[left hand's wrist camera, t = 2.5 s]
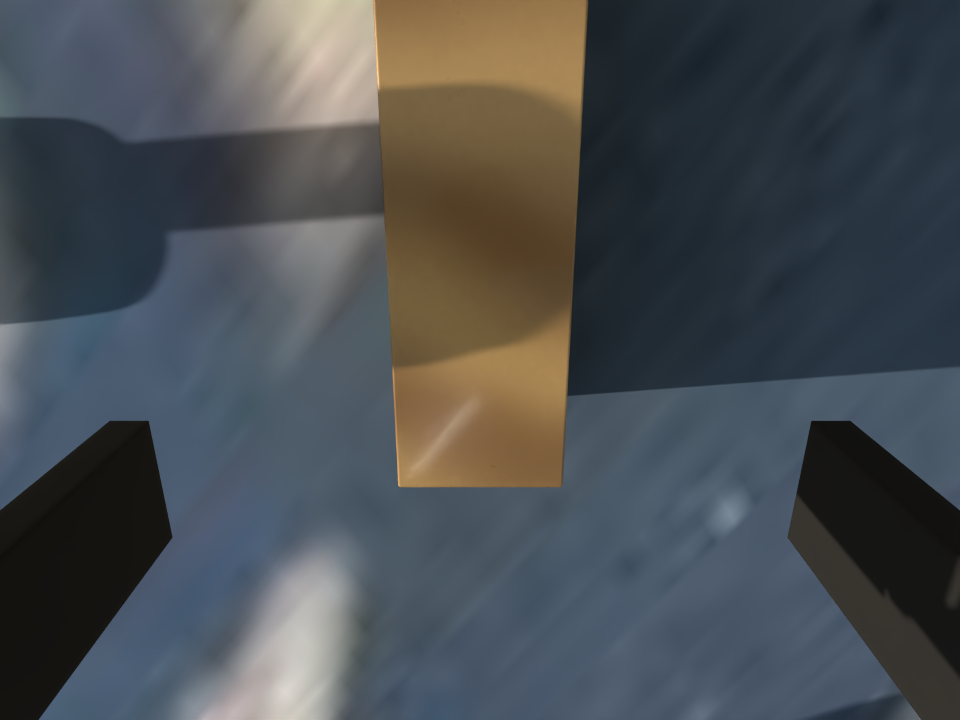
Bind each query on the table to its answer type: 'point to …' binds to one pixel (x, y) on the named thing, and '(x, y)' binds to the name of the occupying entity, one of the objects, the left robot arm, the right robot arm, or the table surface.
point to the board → (480, 232)
